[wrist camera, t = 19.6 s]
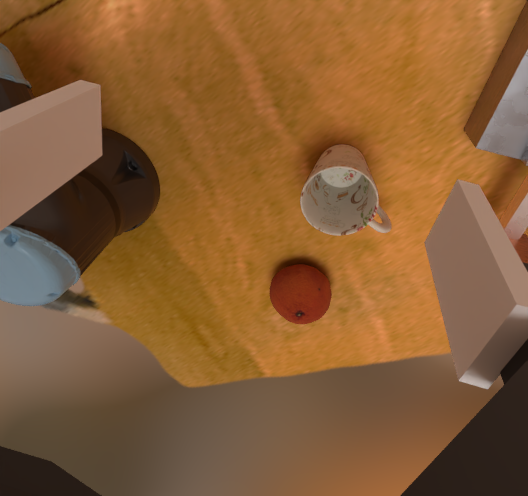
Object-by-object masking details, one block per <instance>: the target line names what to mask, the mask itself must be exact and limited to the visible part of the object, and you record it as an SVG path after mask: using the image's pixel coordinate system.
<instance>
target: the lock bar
mask: <svg viewBox="0 0 528 496" xmlns="http://www.w3.org/2000/svg"><path fill="white" fill-rule="evenodd" d="M499 222H500V223H501V225H502V227H503V229H504V231H505V232H506V234H507V236H508V238H509V240H510V241H511V243H512V245H513V247H514V248H515V250H516V252H517V254H518V256H519V257H520V259H521V261H522V262H524V263H528V237H527V235H526V234H523V233H524V231H525V230H526V228H527V227H528V175H527V176H526V178H525V180H524V181H523V183H522V184H521V186H520V187H519V189H518V191H517V192H516V194H515V195H514V197H513V199H512V200H511V202H510V203H509V205H508V207H507V208H506V210H505V211H504V213H503V215H502V216H501V218H500V219H499Z"/></svg>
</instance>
